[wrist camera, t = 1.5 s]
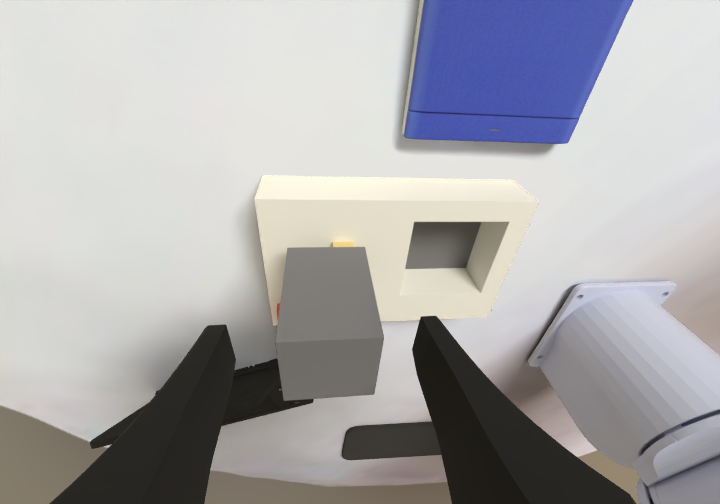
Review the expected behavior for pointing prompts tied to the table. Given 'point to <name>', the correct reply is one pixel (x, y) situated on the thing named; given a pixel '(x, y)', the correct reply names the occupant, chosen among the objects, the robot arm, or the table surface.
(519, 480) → the robot arm
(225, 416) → the handheld gaming console
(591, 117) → the table surface
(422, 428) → the phone
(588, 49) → the hard drive
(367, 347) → the plug
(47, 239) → the table surface
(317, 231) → the socket plate
